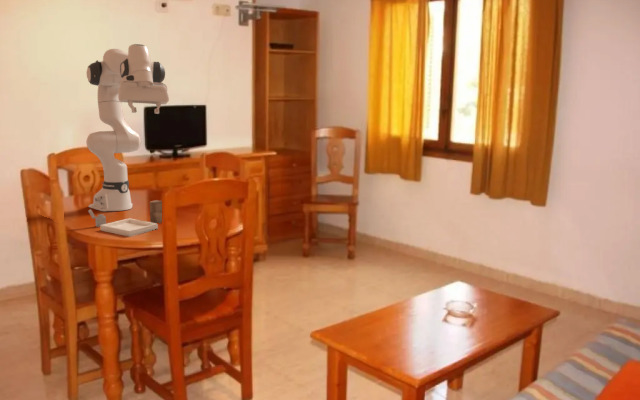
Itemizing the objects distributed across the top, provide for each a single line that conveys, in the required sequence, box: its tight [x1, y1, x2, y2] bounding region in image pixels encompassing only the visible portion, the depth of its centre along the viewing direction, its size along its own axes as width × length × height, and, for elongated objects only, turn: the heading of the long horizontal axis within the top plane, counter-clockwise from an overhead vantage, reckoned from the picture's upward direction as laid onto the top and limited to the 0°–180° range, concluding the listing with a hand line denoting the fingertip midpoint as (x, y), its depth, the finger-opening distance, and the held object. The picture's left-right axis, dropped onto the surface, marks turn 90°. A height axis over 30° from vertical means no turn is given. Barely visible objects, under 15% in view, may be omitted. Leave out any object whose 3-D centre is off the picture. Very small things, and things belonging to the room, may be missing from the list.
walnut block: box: [149, 199, 163, 224], centre depth 273 cm, size 4×4×10 cm
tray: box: [99, 217, 159, 238], centre depth 261 cm, size 18×16×2 cm
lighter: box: [87, 208, 107, 228], centre depth 265 cm, size 7×2×8 cm, turn 122°
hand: (145, 112), depth 246 cm, fingers open, 8 cm apart
